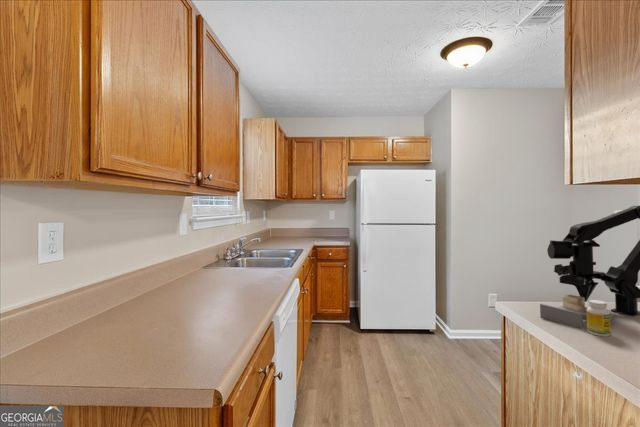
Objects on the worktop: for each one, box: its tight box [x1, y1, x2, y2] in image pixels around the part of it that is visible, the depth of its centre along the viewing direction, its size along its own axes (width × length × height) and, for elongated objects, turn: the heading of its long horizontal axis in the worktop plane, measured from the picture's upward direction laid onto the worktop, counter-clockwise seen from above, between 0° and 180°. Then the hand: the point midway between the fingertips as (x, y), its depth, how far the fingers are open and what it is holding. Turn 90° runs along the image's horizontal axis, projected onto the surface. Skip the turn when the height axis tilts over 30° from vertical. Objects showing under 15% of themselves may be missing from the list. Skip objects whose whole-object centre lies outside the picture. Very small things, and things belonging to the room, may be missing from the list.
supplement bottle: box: [586, 299, 612, 337], centre depth 95 cm, size 5×5×10 cm
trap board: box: [539, 303, 614, 329], centre depth 108 cm, size 18×12×4 cm
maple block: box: [562, 294, 586, 311], centre depth 113 cm, size 4×4×4 cm
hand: (584, 301), depth 115 cm, fingers closed
